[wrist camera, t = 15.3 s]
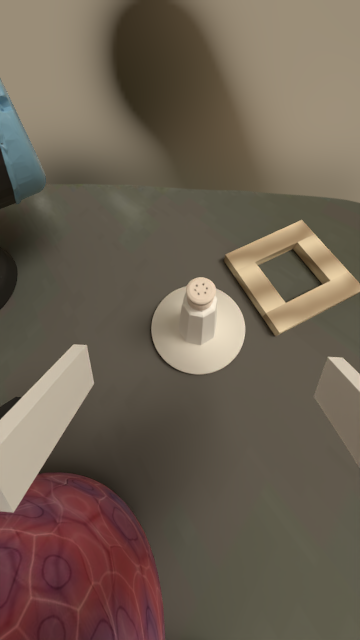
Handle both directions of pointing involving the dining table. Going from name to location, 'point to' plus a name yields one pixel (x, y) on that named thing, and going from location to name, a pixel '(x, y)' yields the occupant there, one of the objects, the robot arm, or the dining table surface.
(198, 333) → the pepper shaker
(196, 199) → the dining table surface
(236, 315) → the white plate
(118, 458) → the dining table surface
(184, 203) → the dining table surface
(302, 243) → the birch frame
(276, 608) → the dining table surface
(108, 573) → the decorative sphere
